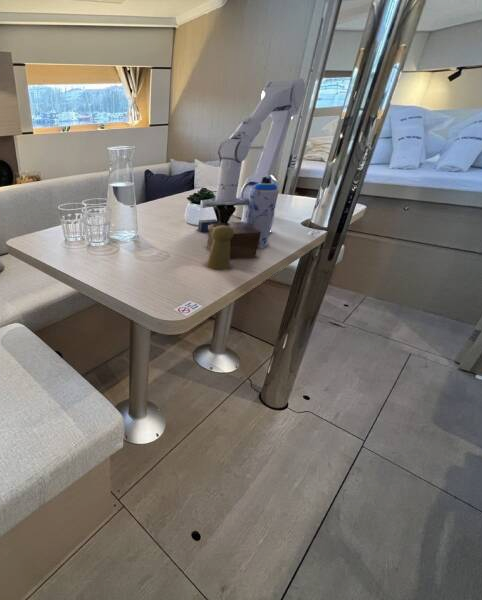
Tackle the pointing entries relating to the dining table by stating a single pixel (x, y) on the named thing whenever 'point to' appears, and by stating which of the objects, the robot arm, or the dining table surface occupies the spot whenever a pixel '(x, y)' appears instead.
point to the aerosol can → (262, 208)
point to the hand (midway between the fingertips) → (220, 229)
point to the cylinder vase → (249, 172)
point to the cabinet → (239, 240)
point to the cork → (220, 248)
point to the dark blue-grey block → (205, 225)
